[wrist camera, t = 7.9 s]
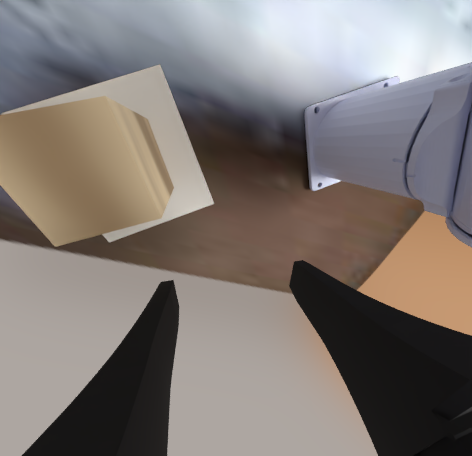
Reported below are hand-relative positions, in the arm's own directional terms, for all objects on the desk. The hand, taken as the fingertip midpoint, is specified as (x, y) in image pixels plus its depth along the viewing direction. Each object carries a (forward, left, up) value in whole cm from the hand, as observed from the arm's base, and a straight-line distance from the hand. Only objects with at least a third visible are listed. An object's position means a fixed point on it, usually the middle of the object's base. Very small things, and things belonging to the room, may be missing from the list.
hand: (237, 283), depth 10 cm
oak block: (+4, -8, -6) cm, 11 cm away
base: (+4, -7, -9) cm, 13 cm away
